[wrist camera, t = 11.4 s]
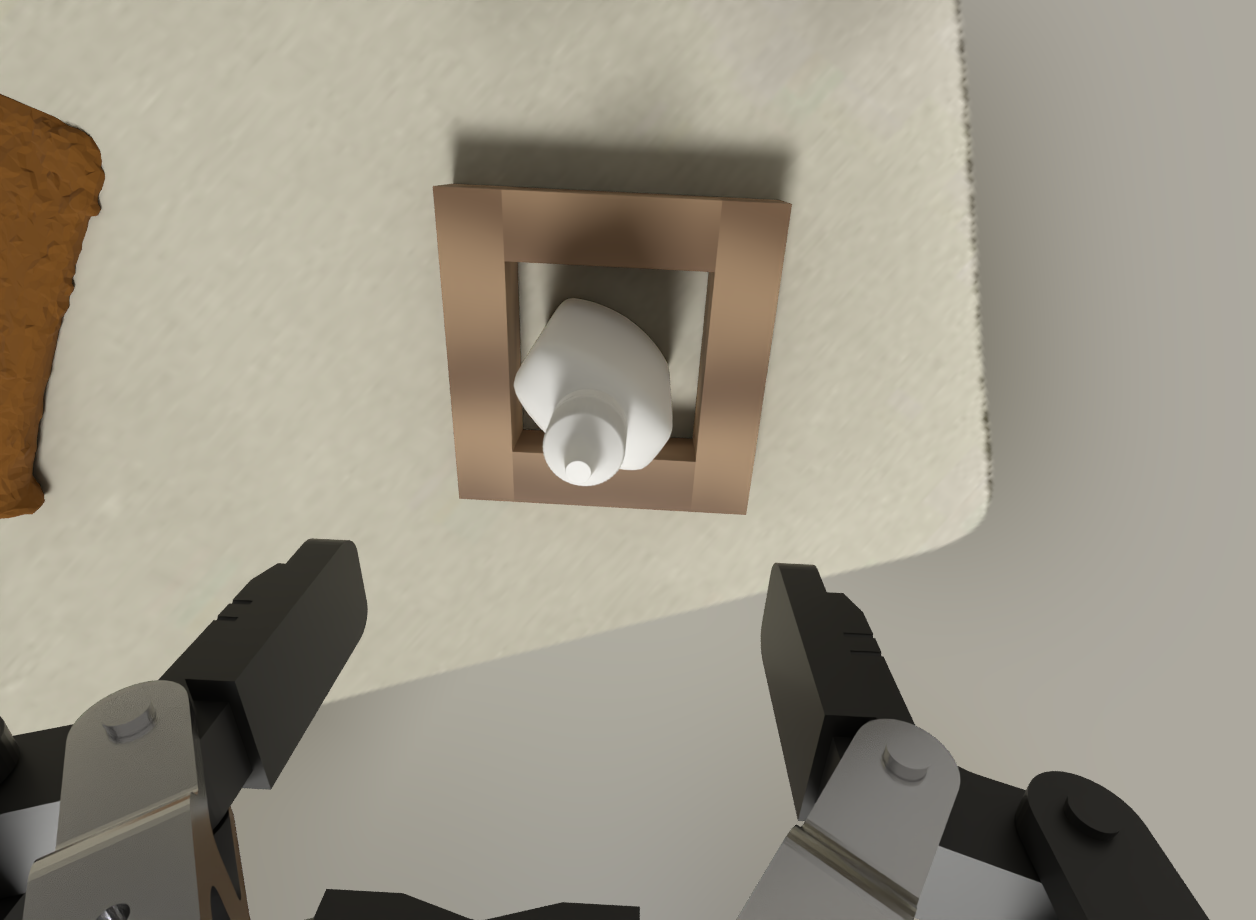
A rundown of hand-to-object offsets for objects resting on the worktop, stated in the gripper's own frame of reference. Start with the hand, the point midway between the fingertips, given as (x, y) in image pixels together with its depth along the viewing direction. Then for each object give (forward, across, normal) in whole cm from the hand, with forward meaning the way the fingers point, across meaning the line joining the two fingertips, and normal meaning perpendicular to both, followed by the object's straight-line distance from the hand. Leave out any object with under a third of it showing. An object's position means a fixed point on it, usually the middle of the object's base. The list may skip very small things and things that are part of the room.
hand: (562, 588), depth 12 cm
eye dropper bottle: (+17, 0, 0) cm, 17 cm away
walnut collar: (+17, 0, 0) cm, 17 cm away
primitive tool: (+18, +27, 0) cm, 32 cm away
